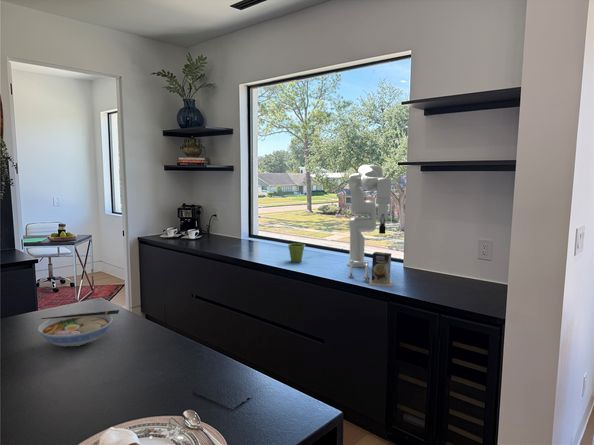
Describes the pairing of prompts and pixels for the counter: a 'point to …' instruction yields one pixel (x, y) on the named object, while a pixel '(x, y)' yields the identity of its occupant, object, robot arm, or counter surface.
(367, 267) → the white arch piece
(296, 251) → the plant pot
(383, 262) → the coffee box
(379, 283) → the tile
